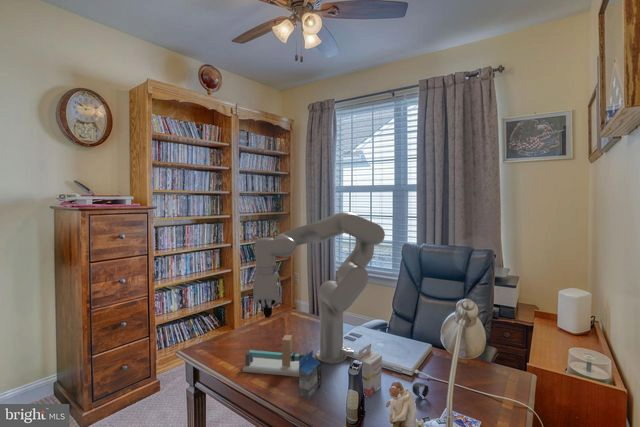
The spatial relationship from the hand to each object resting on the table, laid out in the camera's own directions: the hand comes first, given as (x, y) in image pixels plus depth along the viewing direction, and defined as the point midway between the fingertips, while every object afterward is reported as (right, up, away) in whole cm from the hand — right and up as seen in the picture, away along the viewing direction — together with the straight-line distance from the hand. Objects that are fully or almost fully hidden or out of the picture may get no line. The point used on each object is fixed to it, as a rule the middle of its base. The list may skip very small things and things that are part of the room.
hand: (268, 316), depth 127 cm
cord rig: (+3, -20, 0) cm, 20 cm away
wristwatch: (+54, -22, -19) cm, 61 cm away
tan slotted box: (+8, -18, -1) cm, 20 cm away
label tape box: (+17, -21, -15) cm, 31 cm away
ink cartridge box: (+37, -21, -14) cm, 45 cm away
